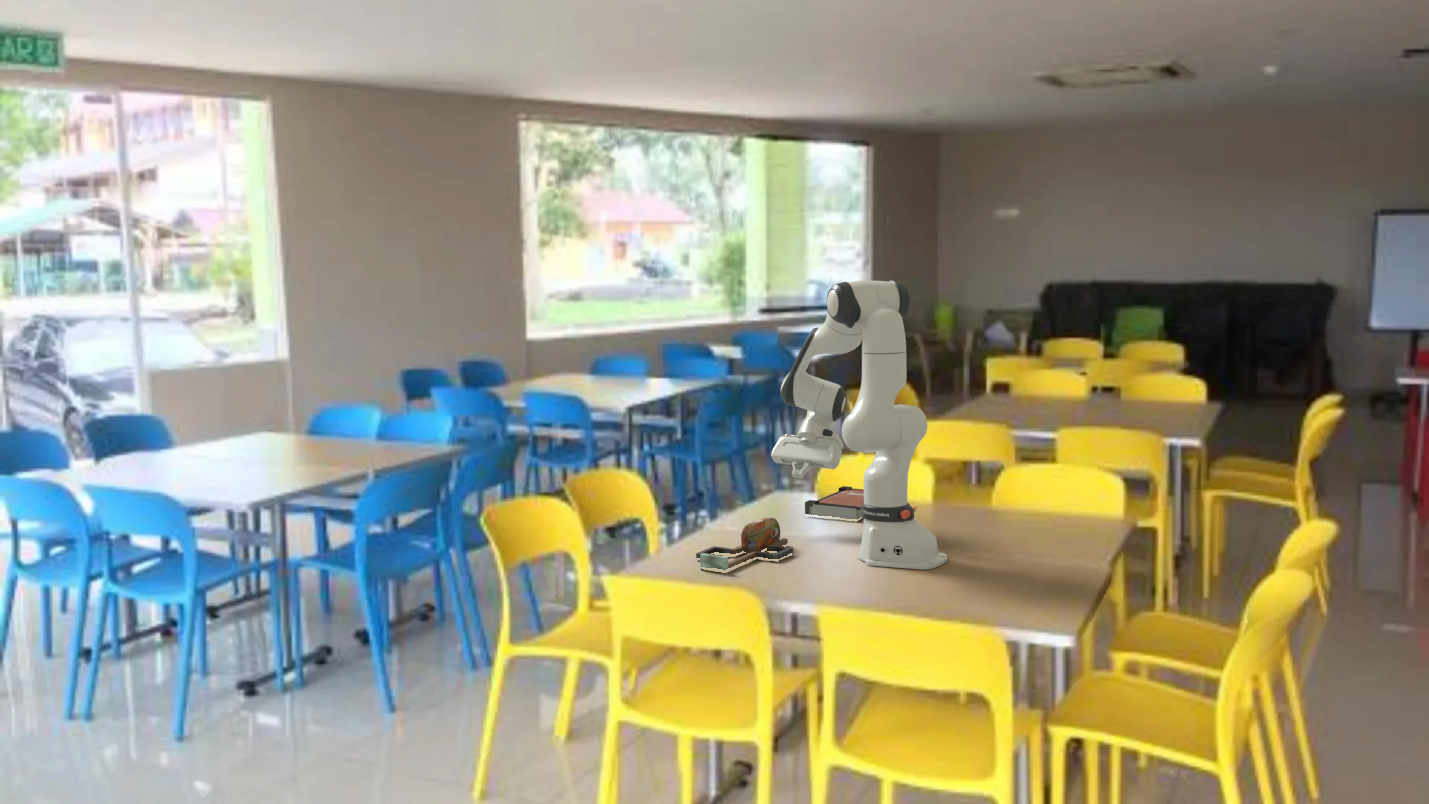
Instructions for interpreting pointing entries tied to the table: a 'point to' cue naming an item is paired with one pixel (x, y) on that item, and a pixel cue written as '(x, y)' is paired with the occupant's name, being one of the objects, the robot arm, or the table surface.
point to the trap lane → (722, 561)
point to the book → (838, 504)
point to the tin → (760, 534)
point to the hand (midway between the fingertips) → (796, 476)
